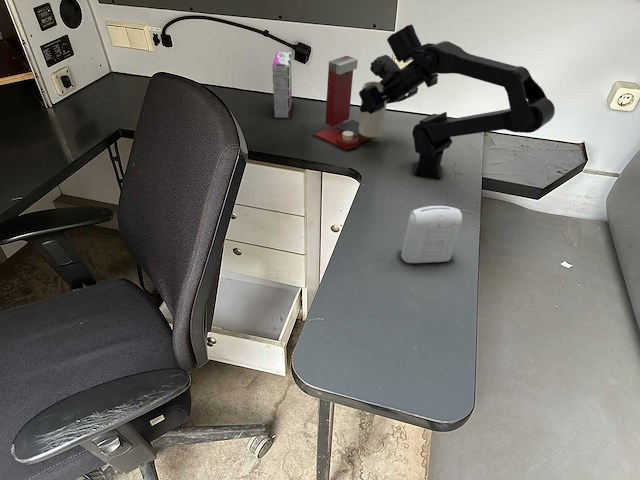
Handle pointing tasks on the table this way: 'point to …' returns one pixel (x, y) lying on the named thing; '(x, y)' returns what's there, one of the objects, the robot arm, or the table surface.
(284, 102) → the candy bar box
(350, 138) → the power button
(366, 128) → the tumbler
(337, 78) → the coffee maker tower
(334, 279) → the table surface
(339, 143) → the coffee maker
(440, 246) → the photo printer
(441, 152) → the robot arm
